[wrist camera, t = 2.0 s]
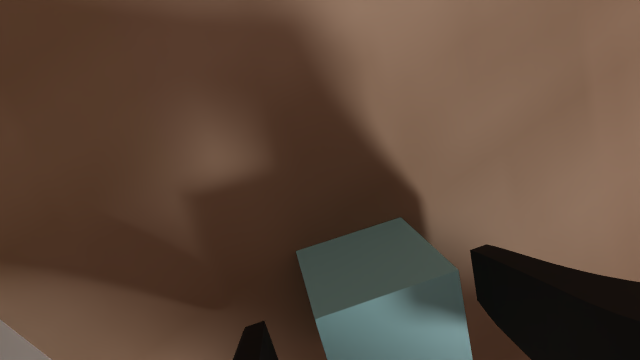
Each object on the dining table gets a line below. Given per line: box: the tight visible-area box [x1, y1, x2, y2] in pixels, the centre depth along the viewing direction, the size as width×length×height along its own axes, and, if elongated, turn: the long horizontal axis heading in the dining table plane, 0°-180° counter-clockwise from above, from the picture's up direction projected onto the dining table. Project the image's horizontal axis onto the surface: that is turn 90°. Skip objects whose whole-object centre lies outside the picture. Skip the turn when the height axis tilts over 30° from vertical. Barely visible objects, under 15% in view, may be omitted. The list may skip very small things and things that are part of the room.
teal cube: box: [296, 217, 473, 360], centre depth 12 cm, size 4×4×4 cm
